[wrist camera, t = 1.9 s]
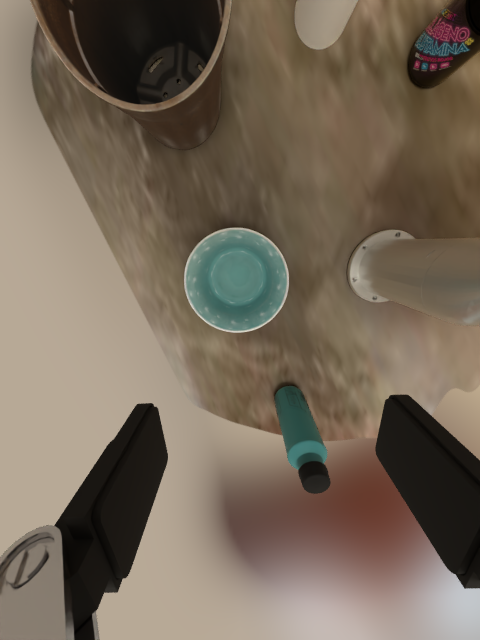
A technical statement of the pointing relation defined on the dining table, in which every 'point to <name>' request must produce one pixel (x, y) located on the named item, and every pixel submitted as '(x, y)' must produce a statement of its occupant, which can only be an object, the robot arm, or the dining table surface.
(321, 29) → the cylindrical container
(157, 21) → the plant pot
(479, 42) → the supplement container
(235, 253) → the bowl
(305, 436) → the beverage bottle
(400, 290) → the robot arm
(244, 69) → the dining table surface
